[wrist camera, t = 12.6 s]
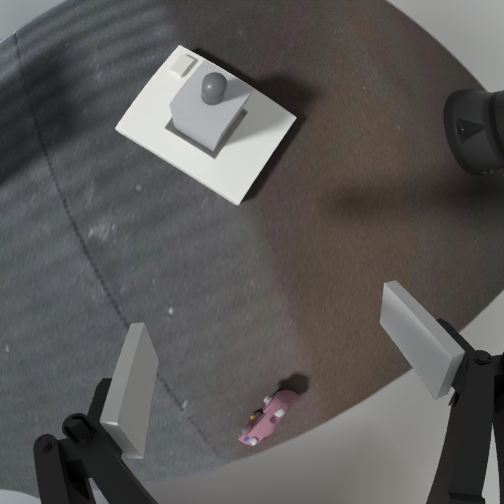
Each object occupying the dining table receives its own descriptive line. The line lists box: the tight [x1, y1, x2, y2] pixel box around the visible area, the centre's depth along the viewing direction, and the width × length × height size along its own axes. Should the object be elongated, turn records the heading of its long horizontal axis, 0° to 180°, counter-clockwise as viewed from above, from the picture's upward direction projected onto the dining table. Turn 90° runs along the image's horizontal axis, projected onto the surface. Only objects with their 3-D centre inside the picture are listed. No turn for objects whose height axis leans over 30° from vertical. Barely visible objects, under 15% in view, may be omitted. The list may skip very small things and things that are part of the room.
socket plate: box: [115, 45, 297, 205], centre depth 31 cm, size 16×12×3 cm
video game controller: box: [238, 390, 300, 446], centre depth 38 cm, size 10×5×7 cm, turn 145°
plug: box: [169, 60, 254, 153], centre depth 26 cm, size 6×5×13 cm
